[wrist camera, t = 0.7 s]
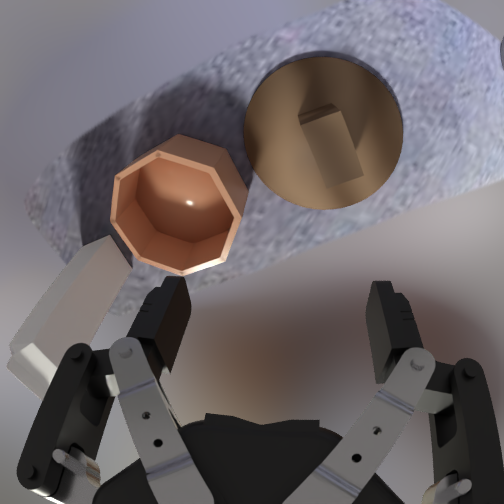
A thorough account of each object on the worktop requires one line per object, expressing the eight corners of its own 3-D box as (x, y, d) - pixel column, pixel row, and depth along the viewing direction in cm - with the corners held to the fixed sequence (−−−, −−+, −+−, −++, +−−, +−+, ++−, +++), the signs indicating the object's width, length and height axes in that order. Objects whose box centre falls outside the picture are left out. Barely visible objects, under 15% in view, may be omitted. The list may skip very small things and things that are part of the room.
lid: (368, 37, 22) (387, 33, 18) (414, 178, 30) (436, 202, 25) (217, 95, 28) (202, 102, 23) (283, 224, 35) (282, 255, 30)
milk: (110, 233, 38) (17, 366, 20) (133, 269, 41) (61, 406, 23) (81, 246, 40) (-6, 365, 21) (104, 278, 43) (33, 401, 24)
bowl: (209, 117, 29) (193, 130, 24) (263, 219, 35) (259, 249, 30) (116, 170, 33) (90, 192, 28) (172, 254, 39) (156, 285, 34)
